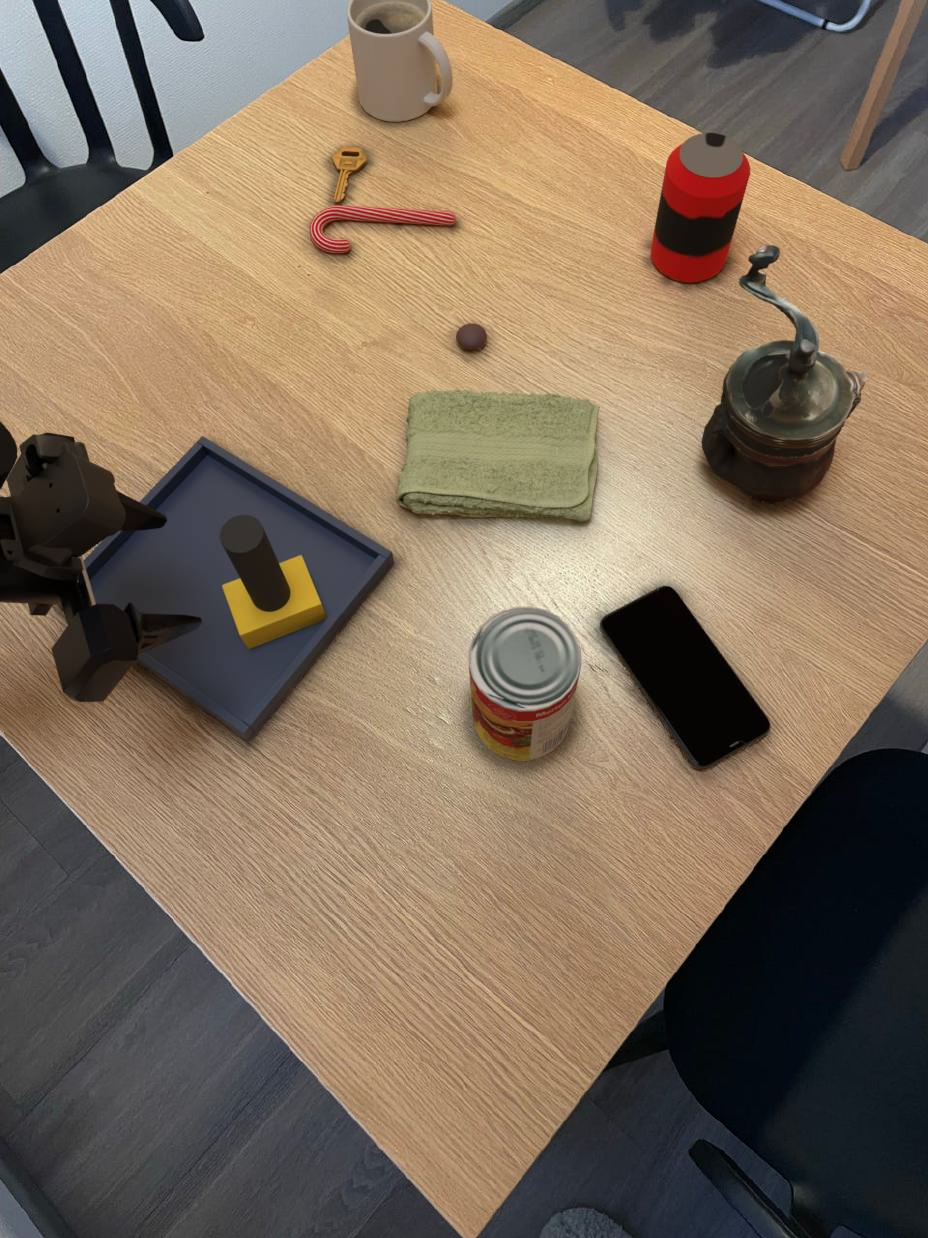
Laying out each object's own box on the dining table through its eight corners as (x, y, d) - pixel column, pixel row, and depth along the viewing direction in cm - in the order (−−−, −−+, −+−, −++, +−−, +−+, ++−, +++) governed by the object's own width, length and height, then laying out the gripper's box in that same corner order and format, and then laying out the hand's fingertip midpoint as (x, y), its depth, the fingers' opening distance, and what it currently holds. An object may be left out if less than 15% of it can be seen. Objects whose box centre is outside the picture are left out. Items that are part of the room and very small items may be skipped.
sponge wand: (248, 650, 81) (205, 579, 69) (230, 600, 83) (185, 523, 71) (327, 619, 82) (298, 543, 70) (307, 570, 84) (276, 489, 72)
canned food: (508, 651, 81) (509, 586, 70) (589, 701, 79) (603, 643, 68) (453, 726, 78) (446, 670, 67) (535, 780, 76) (541, 732, 65)
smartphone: (594, 623, 81) (696, 776, 76) (595, 619, 81) (698, 773, 75) (668, 584, 83) (774, 731, 77) (670, 580, 82) (777, 728, 76)
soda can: (730, 234, 99) (759, 131, 88) (720, 290, 96) (748, 190, 85) (656, 222, 100) (675, 119, 89) (644, 277, 97) (662, 177, 86)
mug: (351, 77, 111) (338, -11, 102) (431, 60, 112) (426, -29, 103) (372, 141, 106) (361, 55, 97) (456, 123, 107) (452, 36, 98)
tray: (249, 742, 78) (243, 734, 76) (59, 606, 84) (48, 596, 82) (394, 563, 85) (392, 551, 83) (208, 448, 90) (202, 435, 88)
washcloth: (594, 529, 85) (597, 510, 82) (395, 518, 86) (391, 499, 83) (598, 407, 91) (601, 385, 88) (410, 398, 92) (407, 376, 89)
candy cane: (450, 262, 99) (450, 251, 98) (305, 254, 100) (303, 243, 99) (457, 219, 101) (456, 207, 100) (315, 211, 102) (313, 199, 101)
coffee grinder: (758, 369, 92) (813, 219, 76) (852, 487, 86) (934, 352, 70) (641, 421, 90) (672, 278, 74) (730, 546, 84) (785, 421, 68)
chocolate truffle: (489, 351, 94) (489, 340, 92) (458, 356, 94) (458, 345, 92) (484, 327, 95) (484, 316, 94) (454, 332, 95) (453, 321, 94)
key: (321, 202, 103) (321, 199, 102) (335, 148, 106) (335, 145, 106) (356, 204, 102) (356, 201, 102) (369, 150, 106) (369, 147, 105)
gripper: (39, 605, 52) (278, 615, 63) (-27, 353, 59) (197, 403, 71) (-32, 710, 58) (197, 702, 70) (-85, 470, 65) (131, 498, 77)
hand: (181, 571), depth 72 cm, fingers open, 9 cm apart
